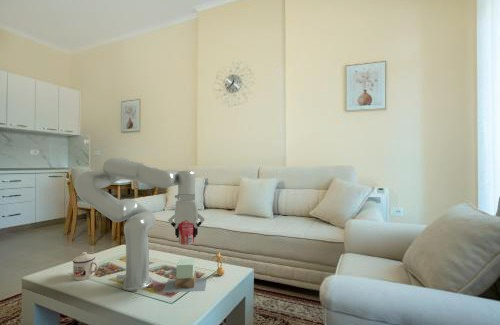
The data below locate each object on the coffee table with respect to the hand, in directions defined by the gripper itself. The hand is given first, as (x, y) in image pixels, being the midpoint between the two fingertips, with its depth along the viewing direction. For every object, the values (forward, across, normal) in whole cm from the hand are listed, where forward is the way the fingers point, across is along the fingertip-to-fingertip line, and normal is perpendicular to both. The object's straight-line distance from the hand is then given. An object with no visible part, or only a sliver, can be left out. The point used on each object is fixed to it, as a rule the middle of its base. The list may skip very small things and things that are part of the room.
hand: (186, 236), depth 115 cm
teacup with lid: (+22, -49, +12) cm, 55 cm away
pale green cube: (+18, 0, 0) cm, 18 cm away
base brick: (+22, 0, 0) cm, 22 cm away
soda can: (+3, 0, 0) cm, 3 cm away
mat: (+22, 0, -1) cm, 22 cm away
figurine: (+22, +15, +7) cm, 28 cm away
